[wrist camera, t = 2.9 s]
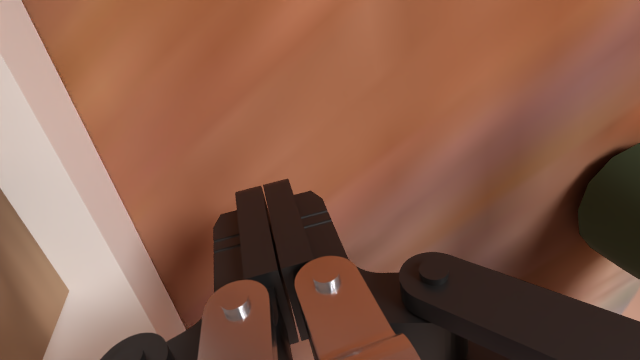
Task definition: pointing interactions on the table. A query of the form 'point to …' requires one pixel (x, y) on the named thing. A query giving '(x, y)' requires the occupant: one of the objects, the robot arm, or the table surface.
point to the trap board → (72, 205)
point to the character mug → (614, 211)
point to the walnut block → (25, 290)
